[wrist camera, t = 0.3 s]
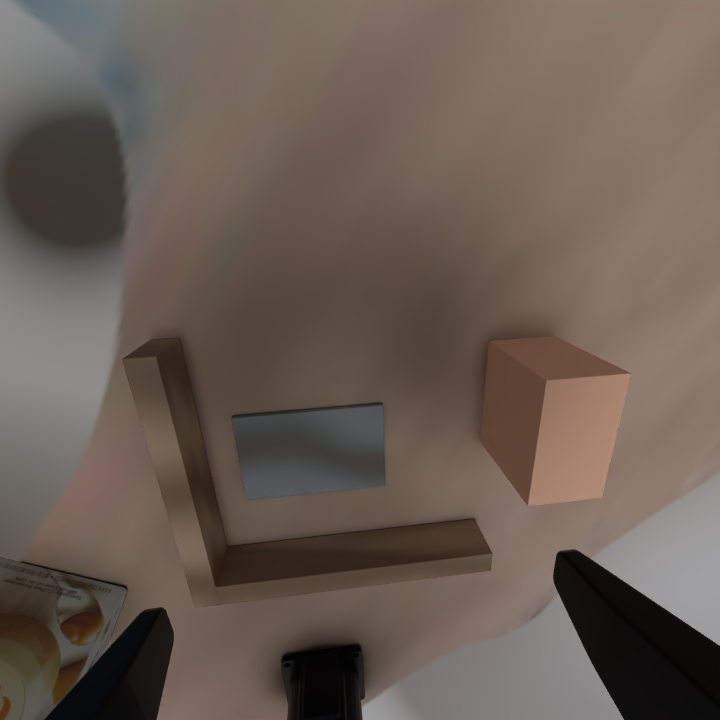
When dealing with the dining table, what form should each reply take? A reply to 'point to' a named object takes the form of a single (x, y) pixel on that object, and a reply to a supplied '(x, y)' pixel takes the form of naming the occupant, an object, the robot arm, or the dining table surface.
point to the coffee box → (49, 635)
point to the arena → (282, 494)
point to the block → (551, 417)
